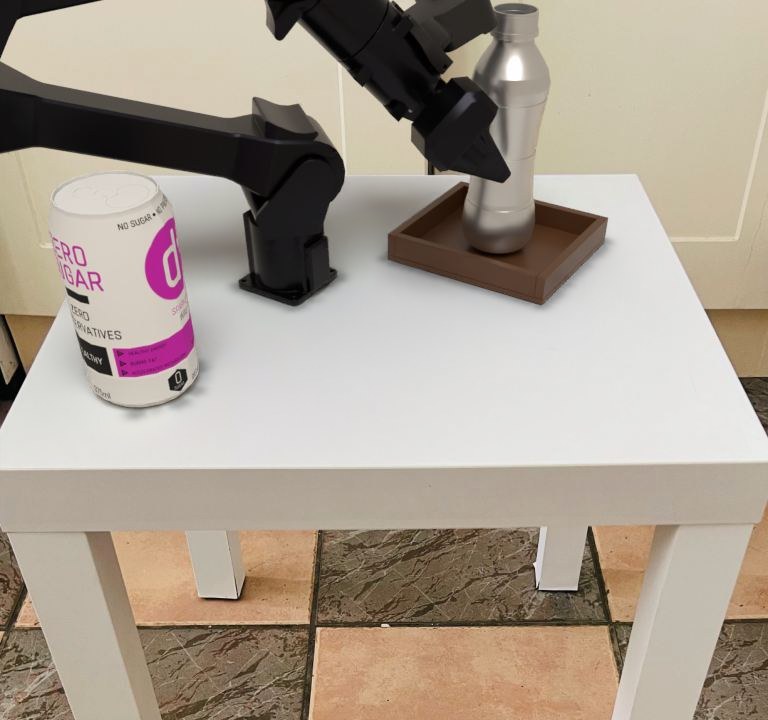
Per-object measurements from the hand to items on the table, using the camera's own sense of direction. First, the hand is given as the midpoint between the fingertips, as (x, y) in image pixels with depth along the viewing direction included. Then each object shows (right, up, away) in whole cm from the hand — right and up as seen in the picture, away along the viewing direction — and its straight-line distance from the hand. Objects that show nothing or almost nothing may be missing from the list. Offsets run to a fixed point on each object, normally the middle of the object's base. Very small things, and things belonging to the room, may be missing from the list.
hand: (486, 157), depth 79 cm
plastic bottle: (+2, -6, +6) cm, 9 cm away
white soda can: (-27, -21, -9) cm, 35 cm away
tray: (+2, -6, +6) cm, 9 cm away
